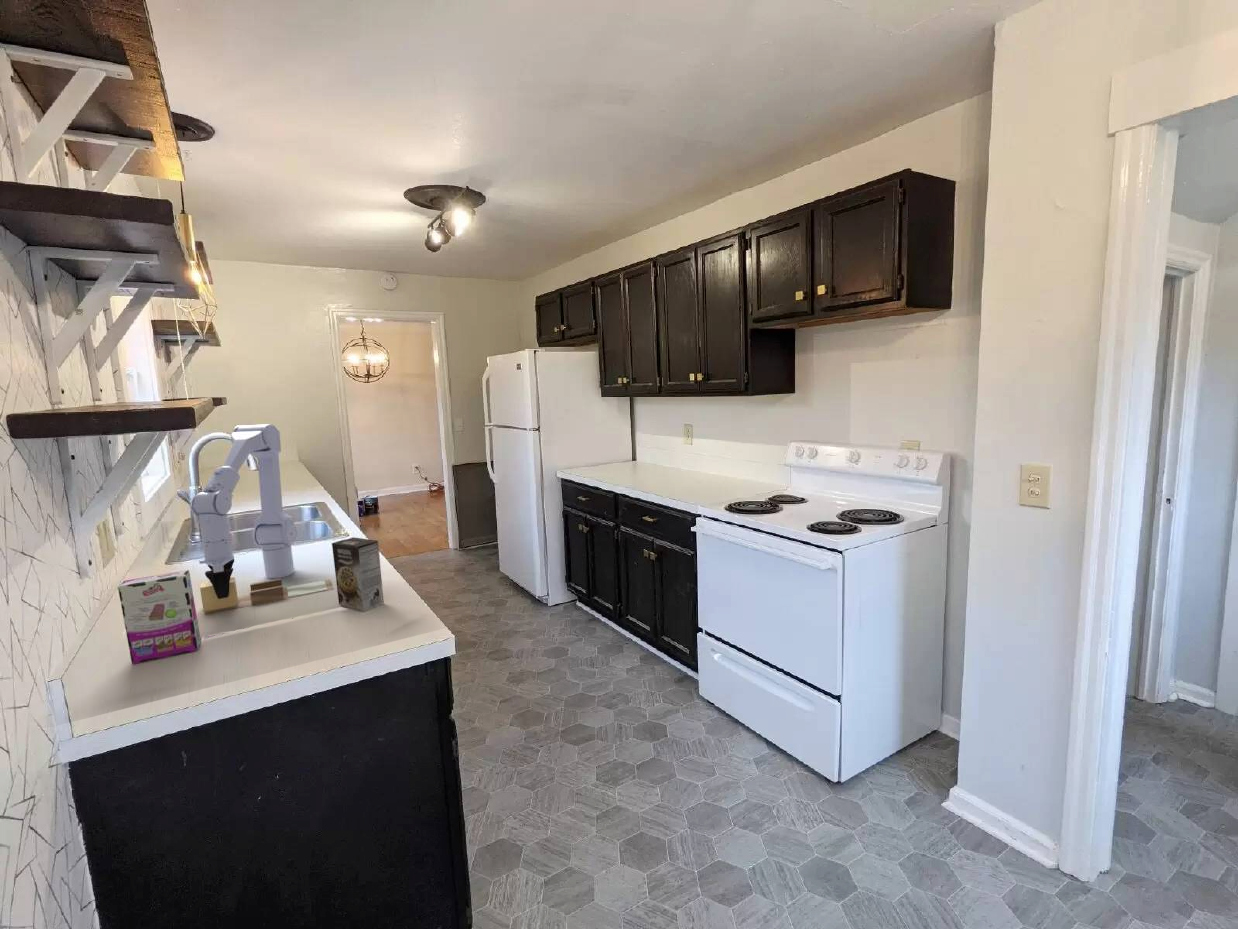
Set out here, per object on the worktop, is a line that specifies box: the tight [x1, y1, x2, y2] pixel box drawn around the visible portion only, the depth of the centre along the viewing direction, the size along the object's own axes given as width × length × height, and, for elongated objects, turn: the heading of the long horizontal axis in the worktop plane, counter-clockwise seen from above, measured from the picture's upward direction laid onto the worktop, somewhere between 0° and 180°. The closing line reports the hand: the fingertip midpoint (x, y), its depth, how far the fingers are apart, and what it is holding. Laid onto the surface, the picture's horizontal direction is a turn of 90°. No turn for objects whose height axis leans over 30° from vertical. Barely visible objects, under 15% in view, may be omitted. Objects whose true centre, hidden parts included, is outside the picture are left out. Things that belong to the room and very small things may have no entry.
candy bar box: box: [117, 569, 202, 665], centre depth 123 cm, size 11×5×16 cm, turn 117°
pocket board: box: [204, 577, 335, 616], centre depth 154 cm, size 10×28×4 cm, turn 121°
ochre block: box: [199, 576, 239, 613], centre depth 148 cm, size 4×7×6 cm, turn 121°
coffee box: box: [331, 536, 385, 613], centre depth 146 cm, size 9×6×16 cm
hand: (224, 593), depth 149 cm, fingers open, 7 cm apart
